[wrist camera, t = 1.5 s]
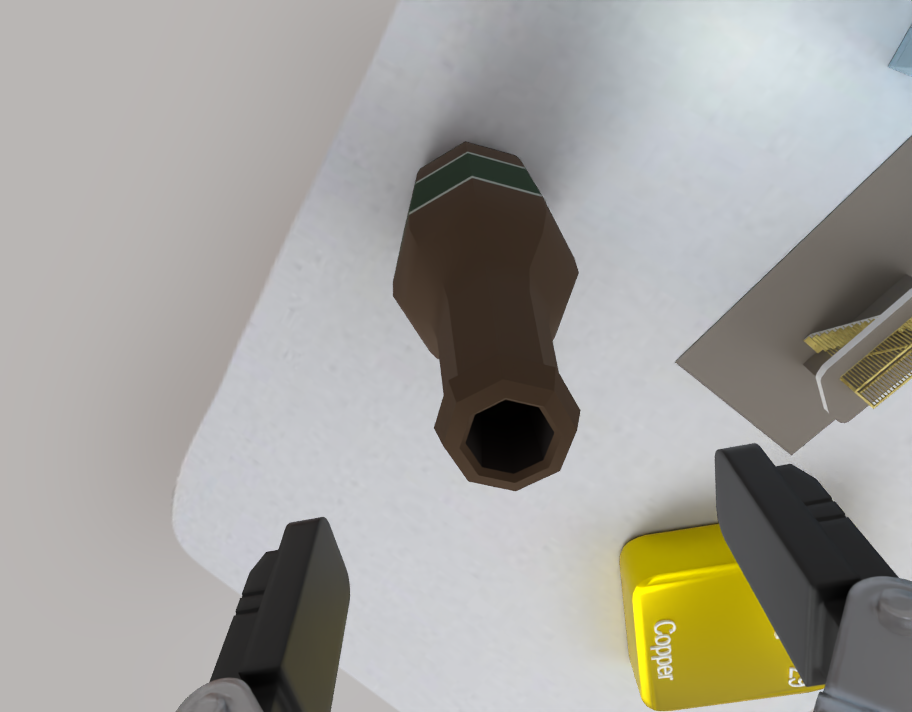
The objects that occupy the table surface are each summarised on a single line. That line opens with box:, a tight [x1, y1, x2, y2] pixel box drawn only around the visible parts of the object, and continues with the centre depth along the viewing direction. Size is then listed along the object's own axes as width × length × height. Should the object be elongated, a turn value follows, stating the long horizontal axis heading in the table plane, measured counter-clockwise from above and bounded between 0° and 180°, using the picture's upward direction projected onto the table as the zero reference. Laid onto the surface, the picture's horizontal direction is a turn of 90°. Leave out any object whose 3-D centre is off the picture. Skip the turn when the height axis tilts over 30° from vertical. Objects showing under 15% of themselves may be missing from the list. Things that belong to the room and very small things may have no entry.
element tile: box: [620, 524, 825, 711], centre depth 49 cm, size 15×15×5 cm
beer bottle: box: [393, 142, 580, 491], centre depth 27 cm, size 8×8×24 cm
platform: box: [675, 136, 912, 455], centre depth 38 cm, size 12×18×7 cm, turn 142°
